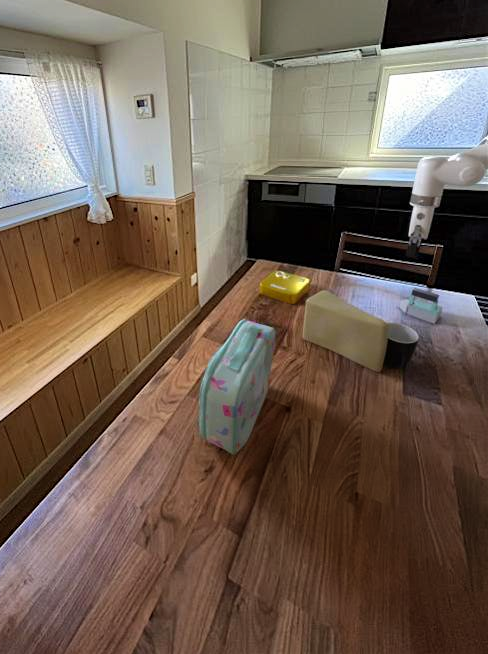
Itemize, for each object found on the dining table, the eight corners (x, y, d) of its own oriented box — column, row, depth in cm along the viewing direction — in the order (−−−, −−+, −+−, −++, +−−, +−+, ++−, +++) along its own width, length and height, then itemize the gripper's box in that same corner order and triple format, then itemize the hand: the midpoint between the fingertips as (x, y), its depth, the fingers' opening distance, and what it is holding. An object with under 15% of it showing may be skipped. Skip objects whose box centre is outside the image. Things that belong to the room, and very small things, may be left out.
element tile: (257, 293, 131) (257, 282, 129) (275, 278, 141) (275, 268, 139) (294, 305, 122) (295, 294, 120) (310, 288, 132) (311, 277, 130)
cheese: (389, 364, 93) (400, 319, 87) (370, 380, 88) (381, 334, 82) (319, 327, 110) (324, 287, 104) (300, 339, 105) (304, 298, 99)
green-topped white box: (439, 316, 111) (446, 294, 108) (434, 323, 108) (441, 301, 104) (402, 303, 119) (407, 282, 116) (396, 310, 116) (401, 288, 112)
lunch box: (238, 368, 95) (238, 303, 86) (274, 379, 90) (279, 313, 81) (195, 447, 74) (190, 373, 65) (239, 467, 69) (240, 390, 60)
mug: (370, 349, 99) (376, 320, 95) (404, 352, 97) (411, 323, 93) (381, 379, 88) (388, 348, 84) (419, 383, 86) (429, 352, 82)
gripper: (438, 208, 93) (424, 264, 100) (441, 194, 106) (429, 244, 113) (407, 205, 98) (395, 258, 105) (413, 192, 110) (403, 240, 117)
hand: (413, 251), depth 109 cm, fingers open, 9 cm apart
